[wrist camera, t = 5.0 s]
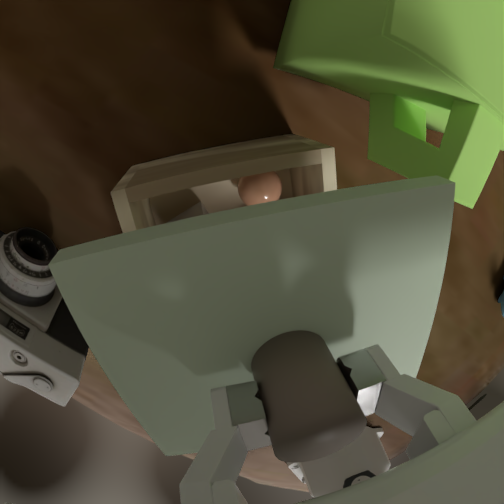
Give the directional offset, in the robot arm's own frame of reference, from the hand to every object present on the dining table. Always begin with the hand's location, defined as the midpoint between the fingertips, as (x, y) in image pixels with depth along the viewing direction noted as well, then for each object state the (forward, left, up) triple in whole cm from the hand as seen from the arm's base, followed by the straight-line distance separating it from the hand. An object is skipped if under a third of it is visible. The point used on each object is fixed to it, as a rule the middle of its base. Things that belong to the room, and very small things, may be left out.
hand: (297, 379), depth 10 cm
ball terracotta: (+2, -2, -14) cm, 14 cm away
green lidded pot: (+15, -14, -16) cm, 26 cm away
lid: (0, 0, -2) cm, 2 cm away
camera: (0, +17, -17) cm, 24 cm away
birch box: (0, 0, -16) cm, 16 cm away
